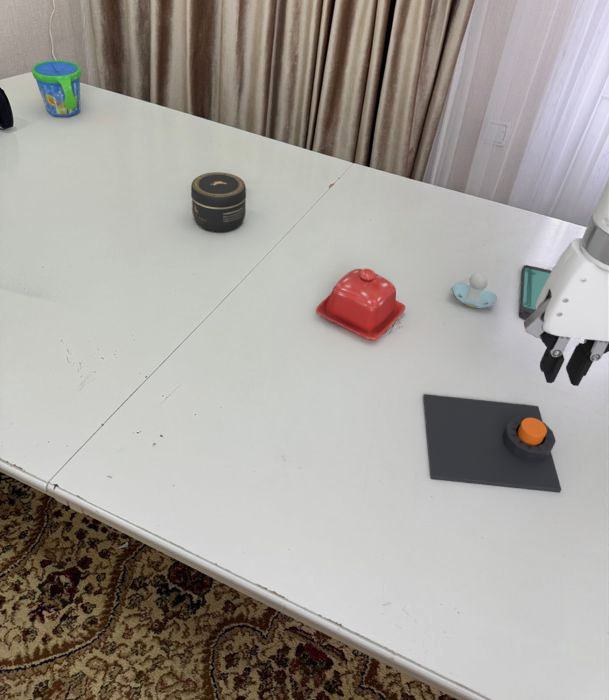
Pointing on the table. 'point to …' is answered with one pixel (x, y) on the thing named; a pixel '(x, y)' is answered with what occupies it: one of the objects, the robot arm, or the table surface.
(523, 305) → the smartphone
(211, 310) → the table surface
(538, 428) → the button
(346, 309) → the butter dish
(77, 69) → the snack cup
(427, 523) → the table surface
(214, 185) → the jar
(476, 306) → the pacifier
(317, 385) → the table surface
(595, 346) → the robot arm
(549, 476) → the dark grey flat plate
